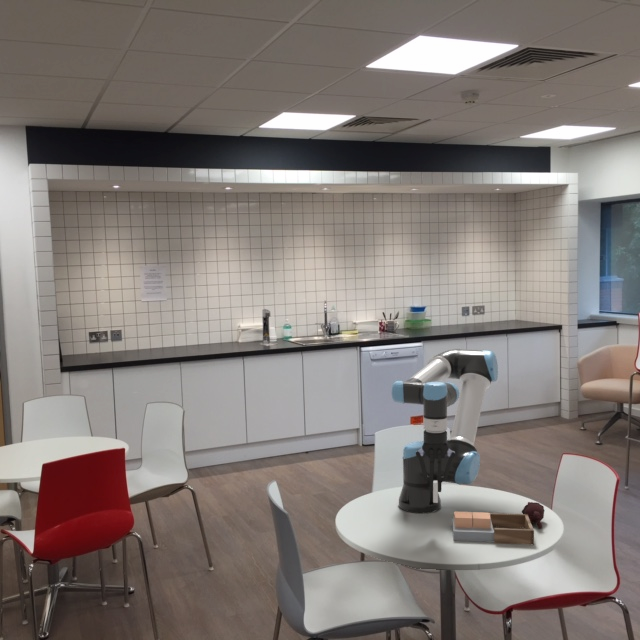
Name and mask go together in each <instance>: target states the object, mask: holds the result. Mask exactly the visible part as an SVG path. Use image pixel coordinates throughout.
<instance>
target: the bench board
mask: <svg viewBox="0 0 640 640" xmlns="http://www.w3.org/2000/svg"><path fill="white" fill-rule="evenodd" d="M451 521H452V535H453V541H460V542H461V541H463V542H485V543H486V542H491V543H492V542H493V543H494V527H493V526H492V522H491V529H489V528H473V524H472V528H460V527H455V523H454V516H453V517H452V519H451Z"/></svg>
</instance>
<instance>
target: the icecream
mask: <svg viewBox="0 0 640 640" xmlns="http://www.w3.org/2000/svg"><path fill="white" fill-rule="evenodd" d="M521 514H528V517H529V519H530V522H531V523H533V524H536V527H537V528H538V529H540V530H541V529H543V522H541V521H542V520H543V519H544V516H545V508H544V505H542V504H541V503H539V502H533V501H531V502H530V501H528V502H527V503H526V505H525V506H524V507H523V509H522V511H521Z"/></svg>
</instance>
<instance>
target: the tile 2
mask: <svg viewBox="0 0 640 640" xmlns="http://www.w3.org/2000/svg"><path fill="white" fill-rule="evenodd" d="M471 513H472V524H473V528H489V529H491V518H490V512H485V511H484V512H480V511H479V512H478V511H472V512H471Z"/></svg>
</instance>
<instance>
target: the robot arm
mask: <svg viewBox="0 0 640 640" xmlns="http://www.w3.org/2000/svg"><path fill="white" fill-rule="evenodd" d="M498 369H499V367H498V359H497V355H496V354H495V352H493V351H491V350H484V349H482V350H481V349H479V350H478V349H462V348H461V349H460V348H454V349H448V350H445V351H443V352H440V353H438V354H436V355H434V356H433V357H432V358H430V359H429V360H428V361H427V365H425V366H424V367H423V368H421V369H420V370H419V371H418V372H415V374H414V375H412V376H411V377H410V378H409V379H407V380H396V381H395V382H394V383H393V384H392V386H391V397H392V398H391V399H392V400H393V401H394V402H395V403H400V404H401V403H402V404H407V405H423V440H420V441H414V442H410V443H408V444H406V445H404V447H403V451H402V453H403V454H402V473H403V475H402V478H403V485H402V488H401V491H400V494H399V497H398V507H399V508H400V509H401V510H404V511H405V512H410V513H414V514H415V513H416V514H425V513H426V514H427V513H433V512H436V511H438V510H439V509H441V507H442V502H441V501H442V500H441V497H440V494H439V493H442V483H443V482H444V483H449V484H456V485H471V484H473V482H475V480H476V479H477V476H478V474H479V471H480V466H481V465H480V464H481V455H480V453H479V452H478V449H477V447H476V446H475V440H476V436H477V432H478V431H477V430H478V427H479V421H480V417H481V411H482V408H483V407H482V406H483V401H484V397H485V393H486V390H488V389H490V387H491V384H492V383H495V382H496V381H497V380H498V377H499V376H498V375H499V371H498ZM447 379H455V380H459V383H460V384H461V389H460V390H459V387H458V386H457V385H456V384H455V383H452V382H448V381H447V382H442V381H445V380H447ZM457 401H458V402H457ZM455 403H457V405H456V410H455V416H454V420H453V424H452V429H451V433H450V437H449V439H448V431H447V430H448V407H450V406H452V405H454V404H455Z"/></svg>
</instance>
